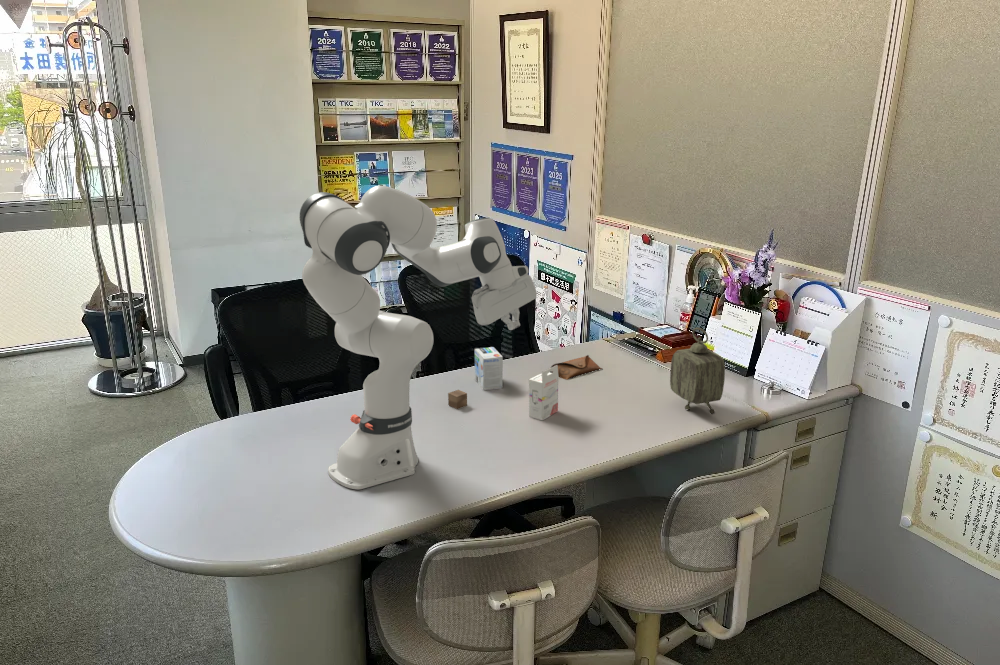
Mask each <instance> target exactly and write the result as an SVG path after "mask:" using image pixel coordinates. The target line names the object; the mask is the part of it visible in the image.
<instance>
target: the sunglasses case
mask: <svg viewBox="0 0 1000 665" xmlns="http://www.w3.org/2000/svg"><path fill="white" fill-rule="evenodd" d="M556 365H558V375H559V377H558V378H561V379H564V380H567V381H569V380H571V379H574V378H576V376H577V377H579V375H580V376H582V374H583V375H586V374H590V373H593V372H596V371H595V370H597V371H600V370H599V369H602V370H603V368H602V367H601V366H599V365H598V363H596V362H595V361H594V360H593V359H592V358H591V357H590V355H588V354H587V355H585V356H581V357H578V358H574V359H570V360H566V361H563V362H558V363H557V362H556V363H553V364H552V365H551V366H550V368H551V367H554V366H556ZM592 371H593V372H592ZM589 372H590V373H589ZM550 373H553V371H550ZM585 373H586V374H585ZM573 377H574V378H573Z"/></svg>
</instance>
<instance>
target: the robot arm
mask: <svg viewBox="0 0 1000 665" xmlns="http://www.w3.org/2000/svg"><path fill="white" fill-rule="evenodd" d="M437 223H438V222H437V218H436V215H435V213H434V211H433V210H432V209H431V208H430V207H429V205H427V204H426V203H424V202H423V201H421V200H419V199H418V198H416V197H414V196H412V195H410V194H409V193H406V192H404V191H402V190H400V189H396V188H393V187H390V186H387V185H375V186H372V187H370V188H369V189H368V190H367V191H366V192H365V193H363V195H362V197H361V198H360V200H359V203H358V204H356V205H355V206H354V207H353V206H352V205H351V204H349V203H348V202H346V201H345V200H344V198H341V197H340V196H338V195H336V194H334V193H330V192H325V191H324V192H323V191H322V192H321V191H320V192H316V193H314V194H312V195H310V196H309V197H308V198H306V200H305V201H304V202H303V203H302V205H301V207H300V211H299V224H300V228H301V230H302V234H303V240H304V241H303V242H304V246H306V247H308V248H309V249H312V254H311V257H310V258H309V259H308V260H306V263H305V264H304V266H303V268H302V273H301V274H302V276H301V277H302V281H303V284H304V286H305V288H306V289H307V291H308V293H309V295H310V296H311V297H312V298H313V299H314V300H315V302H316V304H318V305H319V306H320V307H321V309H322V310H323V311H325V313H326V314H328V315H329V317H331V319H332V320H333V321H334V322H335V325H334V337H335V340H336V342H337V344H338V345H339V346H340V347H341V348H343V349H345V350H347V351H350V352H351V353H354V354H357V355H362V356H367V357H368V356H369V357H371V358H372V357H373V358H378V360H379V365H378V366H379V367H378V369H377V370H374V371H373V372H371V373H370V374H368V375H367V377H366V378H365V379H364V381H363V384H362V388H363V389H362V390H363V408H364V409H363V410H362V414H361V416H358V415H357V414H352V415H351V416H350V422H351V423H354V424H355V425H358V427H357V428H356V430H354V432H353V433H352V434H351V435H350V436H349V437H348V438H347V439H346V440H345V441H344V442H343V444H342V445H340V447H339V448H338V450H337V451H338V452H337V457H336V462H335V463H333V464H331V465H329V466H328V476H329V477H330V478H331V479H332V480H333V481H334V482H336V483H337V484H339V485H341V486H343V487H345V488H348V489H353V490H362V489H363V490H364V489H366V488H370V487H373V486H378V485H380V484H384V483H387V482H391V481H394V480H398V479H401V478H406V477H408V476H413V475H414V474H415V473H416V466H417V465H418V463H419V457H418V455H417V454H418V453H417V451H416V447H415V443H414V439H413V431H412V423H413V412H412V411H413V410H412V407H411V406H410V388H411V386H410V385H411V384H410V382H411V378H412V374H413V372H414V370H415V368H416V367H417V366H418V364H419V363H420V362H422V361H424V360H425V359H426V358H427V357H428V356H429V354H430V353H431V351H432V349H433V345H434V332H433V330H432V328H431V325H430V324H428V322H426V321H424V320H422V319H419V318H416V317H414V316H411V315H406V314H399V313H392V312H387V311H384V310H383V311H382V310H380V309H381V299H380V295H379V294H378V292H377V291H376V290H375V289H374V288H373V286H372V285H371V284H370V283H369V282H368V281H367V279H365V277H364V276H363V275H366V274H368V273H370V272H372V271H373V270H374V269H376V268H377V267H378V266H379V265H380V264H381V263H382V261H383V259H384V257H385V255H386V254H387V250H388V248H389V246H390V244H391V247H392V248H393V250H394V252H395V253H397V254H398V256H400V257H401V258H403V260H405V261H406V262H408V263H409V264H411V265H412V266H413V267H415V268H417V269H418V270H419V271H421V272H422V273H423V274H424V275H426V277H427V278H428V279H429V280H430V281H431V282H432V283H433V284H434V285H436V286H438V287H442V288H443V287H447V286H451V285H453V284H455V283H459V282H463V281H468V280H471V279H474V278H479V280H480V282H481V287H479V288H476V289H475V290H474V291H473V293H472V295H471V302H472V305H473V306H472V307H473V312H474V315H475V319H476V322H477V324H479V325H480V326H488V325H490V324H492V323H494V322H496V321H498V320H500V319H501V321H502V322H503V323H504V324H505V325H507V329H508V330H509V331H514V330H515V329H517V328H519V327H520V326H521V323H520V320H519V319H520V314H521V313H520V308H521V307H523V306H525V305H527V304H528V303H531V302H532V301H534V300H535V299H537V293H538V292H537V290H536V286H535V284H534V283H535V282H534V280H533V279H532V276H531V275H530V274H529V272H530V271H529V267H528V266H527V265H516V266H515V265H512V263H511V261H510V260H511V259H510V258H509V257H508V255H507V252H506V245H505V242H504V239H503V236H502V234H501V232H500V230H499V226H498V225H497V223H496V222H495V220H494V218H491V217H481V218H477V219H474V220H469V221H468V222H467V223H466V224H464V230H465V235H464V237H463V238H462V240H460V241H457V242H456V241H455V242H453V243H450V244H445V245H442V246H441V245H440V246H436V247H432V246H431V244H432V243H433V241H434V239H435V237H436V234H437V228H438V224H437ZM511 316H512V318H511ZM510 318H511V319H510Z"/></svg>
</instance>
